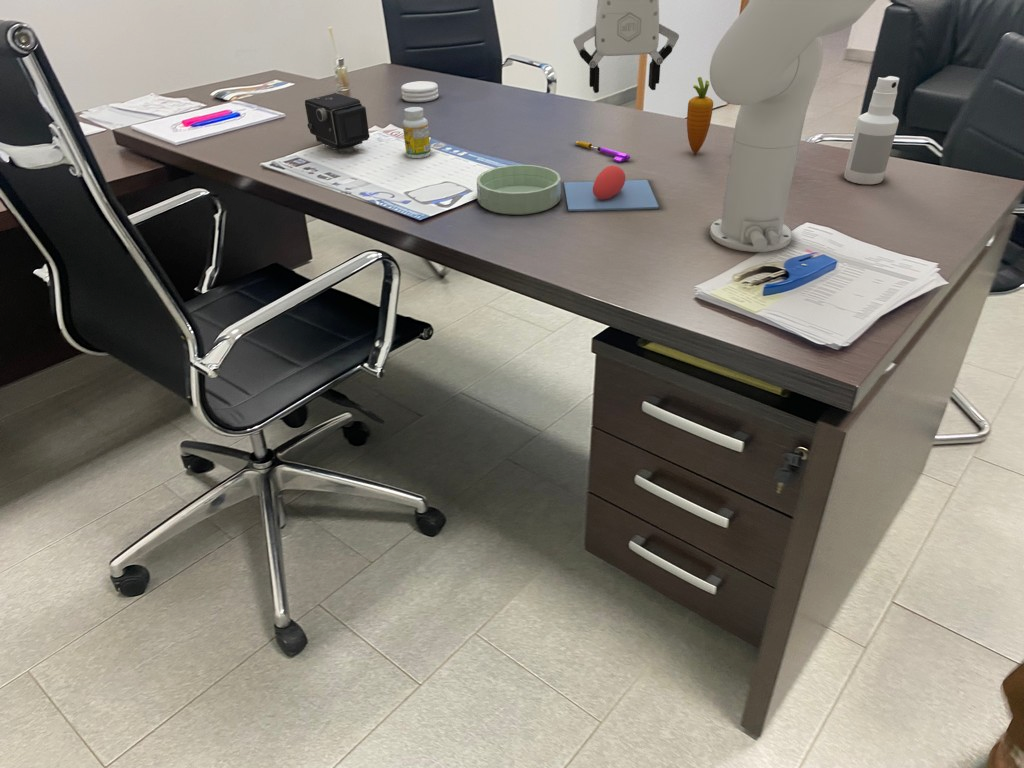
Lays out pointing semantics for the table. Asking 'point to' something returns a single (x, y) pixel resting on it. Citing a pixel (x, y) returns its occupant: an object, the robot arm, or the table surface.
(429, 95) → the coaster
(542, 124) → the table surface
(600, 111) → the table surface
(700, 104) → the carrot
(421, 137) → the supplement bottle
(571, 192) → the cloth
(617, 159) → the purple and gold rod
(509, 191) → the bowl
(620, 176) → the red oval piece
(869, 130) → the spray bottle
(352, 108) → the camera
